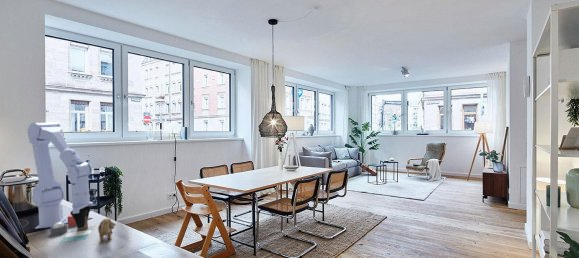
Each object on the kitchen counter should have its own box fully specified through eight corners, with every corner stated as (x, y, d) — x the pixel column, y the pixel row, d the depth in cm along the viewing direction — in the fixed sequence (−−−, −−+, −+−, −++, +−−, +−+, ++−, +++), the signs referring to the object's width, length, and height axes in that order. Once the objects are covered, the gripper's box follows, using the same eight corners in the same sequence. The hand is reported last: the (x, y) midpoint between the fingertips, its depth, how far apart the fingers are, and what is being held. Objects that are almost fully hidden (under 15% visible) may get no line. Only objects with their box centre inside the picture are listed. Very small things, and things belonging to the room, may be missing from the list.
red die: (71, 223, 132) (70, 213, 131) (82, 221, 133) (81, 212, 133) (68, 226, 128) (67, 216, 128) (79, 224, 129) (78, 214, 129)
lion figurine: (117, 243, 110) (115, 218, 109) (100, 247, 107) (98, 222, 106) (112, 231, 122) (110, 208, 121) (96, 234, 118) (95, 211, 118)
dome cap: (55, 230, 121) (54, 221, 121) (65, 229, 123) (65, 220, 123) (51, 233, 118) (51, 224, 118) (62, 232, 119) (62, 223, 119)
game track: (73, 228, 125) (73, 228, 125) (95, 225, 128) (95, 225, 128) (59, 242, 111) (59, 242, 111) (85, 239, 114) (85, 239, 114)
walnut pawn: (79, 228, 125) (78, 216, 125) (89, 226, 126) (88, 215, 126) (76, 231, 122) (75, 219, 121) (86, 229, 123) (85, 217, 123)
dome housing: (53, 231, 122) (53, 224, 122) (68, 229, 124) (68, 223, 123) (48, 236, 117) (48, 229, 117) (64, 234, 119) (63, 227, 119)
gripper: (86, 196, 118) (88, 230, 118) (96, 187, 131) (98, 218, 132) (65, 198, 115) (67, 233, 116) (77, 189, 129) (79, 220, 130)
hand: (82, 225), depth 124 cm, fingers closed on walnut pawn, 4 cm apart
